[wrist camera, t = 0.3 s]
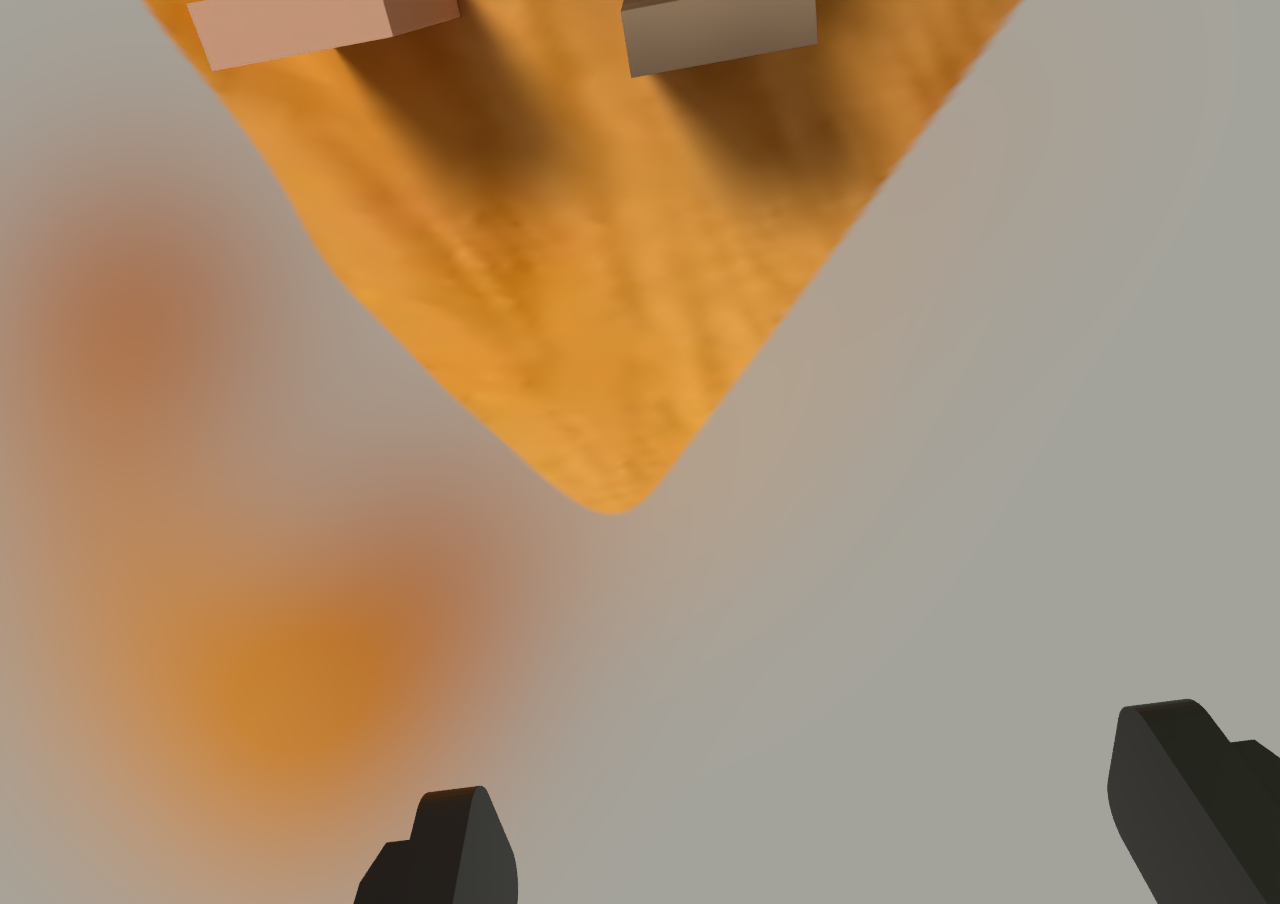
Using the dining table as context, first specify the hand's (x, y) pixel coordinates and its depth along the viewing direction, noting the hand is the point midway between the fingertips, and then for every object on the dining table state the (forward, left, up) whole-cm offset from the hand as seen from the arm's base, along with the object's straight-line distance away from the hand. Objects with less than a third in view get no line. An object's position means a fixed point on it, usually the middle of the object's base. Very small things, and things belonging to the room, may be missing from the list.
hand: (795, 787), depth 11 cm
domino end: (-10, -10, -27) cm, 31 cm away
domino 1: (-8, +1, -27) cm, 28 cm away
